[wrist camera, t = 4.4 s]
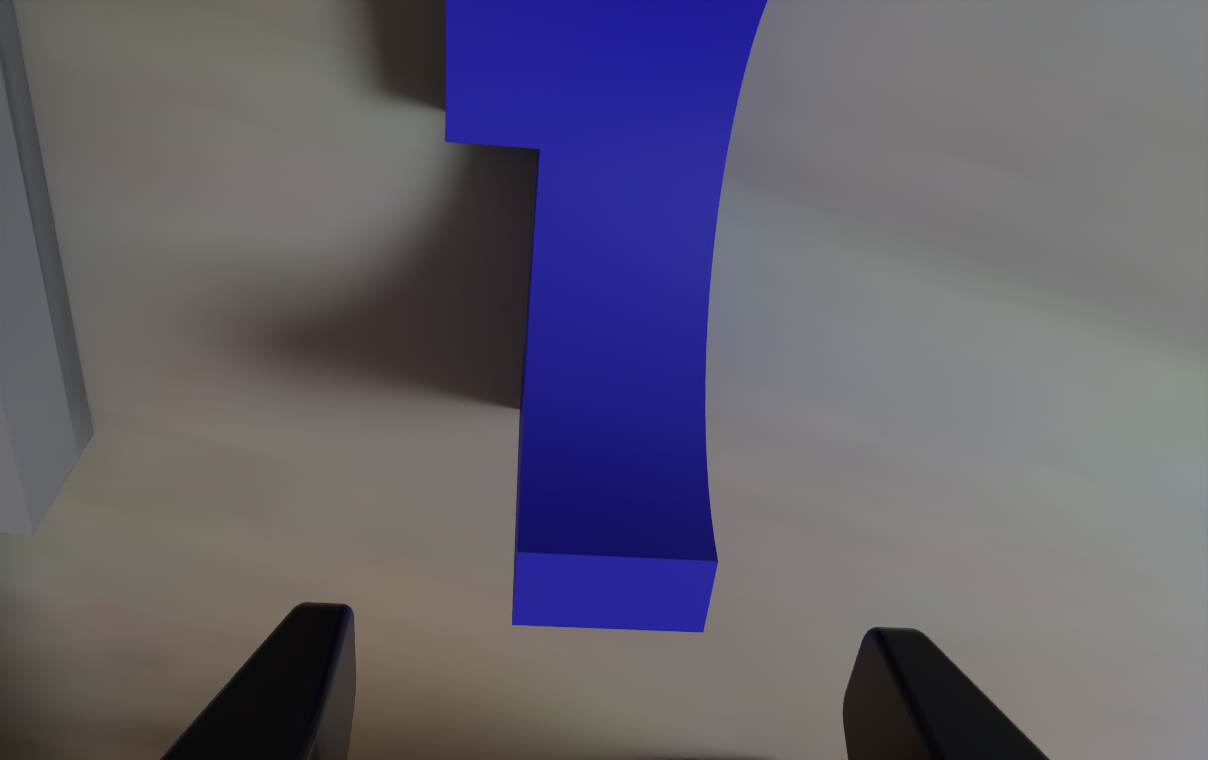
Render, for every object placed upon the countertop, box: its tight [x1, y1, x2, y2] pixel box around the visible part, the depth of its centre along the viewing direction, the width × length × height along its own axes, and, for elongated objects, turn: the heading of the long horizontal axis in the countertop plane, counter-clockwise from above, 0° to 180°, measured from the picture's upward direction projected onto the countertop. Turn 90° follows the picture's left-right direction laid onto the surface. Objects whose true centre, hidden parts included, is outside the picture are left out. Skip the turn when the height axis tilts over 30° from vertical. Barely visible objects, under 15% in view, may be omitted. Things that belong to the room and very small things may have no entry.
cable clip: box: [445, 0, 767, 632], centre depth 16 cm, size 12×4×6 cm, turn 174°
